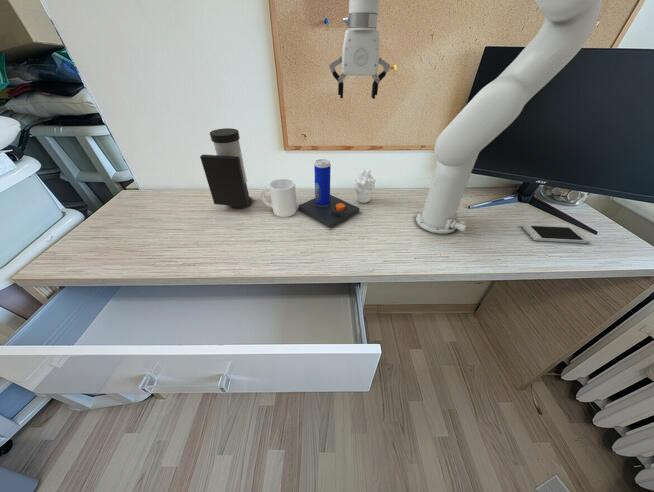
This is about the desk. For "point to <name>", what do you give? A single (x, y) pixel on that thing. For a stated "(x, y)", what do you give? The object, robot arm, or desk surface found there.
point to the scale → (328, 211)
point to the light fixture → (226, 170)
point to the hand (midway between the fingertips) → (357, 97)
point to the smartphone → (555, 234)
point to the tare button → (340, 207)
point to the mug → (281, 197)
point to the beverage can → (322, 182)
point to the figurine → (364, 186)
